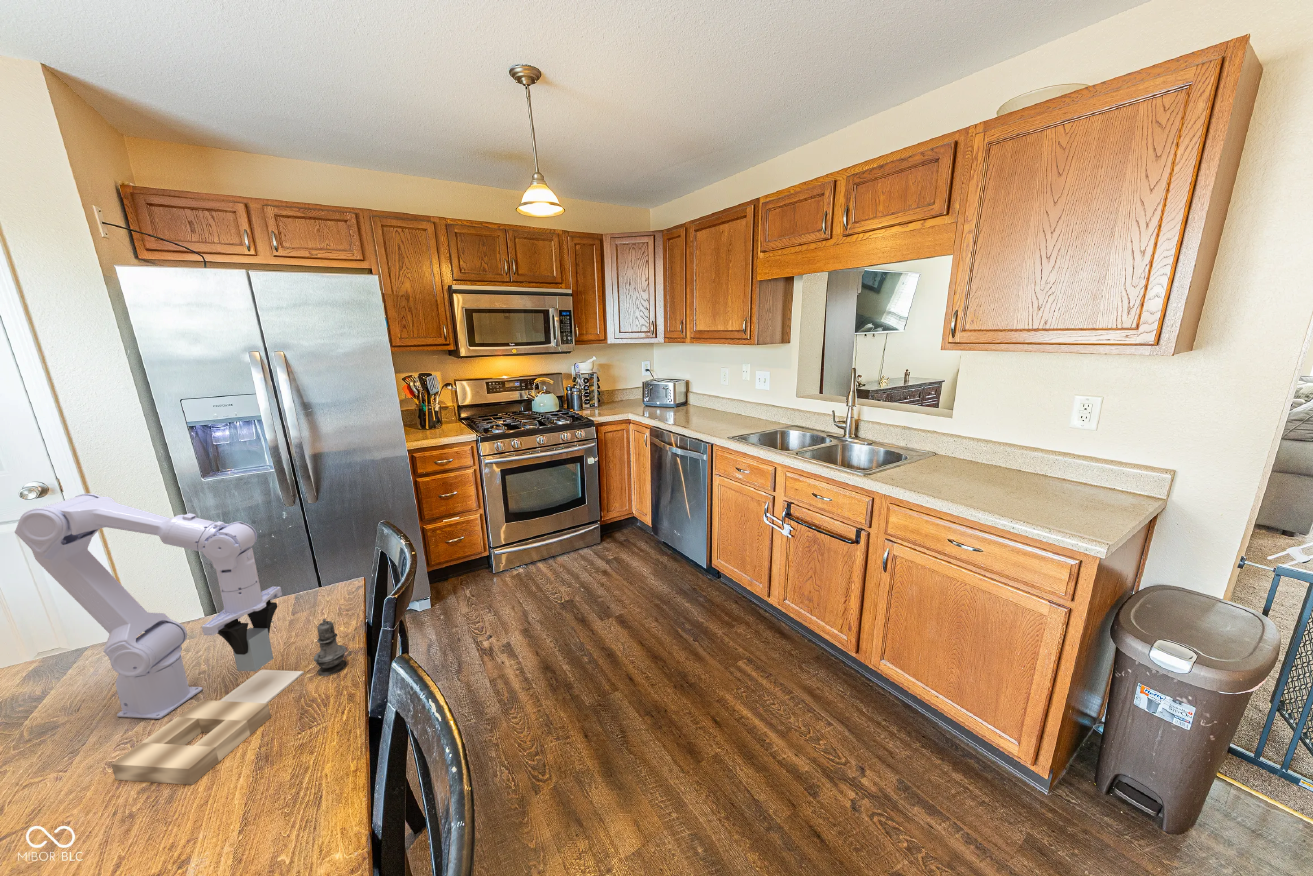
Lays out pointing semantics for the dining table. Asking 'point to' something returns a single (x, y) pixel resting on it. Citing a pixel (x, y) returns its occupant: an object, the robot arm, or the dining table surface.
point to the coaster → (263, 686)
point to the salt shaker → (329, 650)
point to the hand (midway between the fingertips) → (252, 646)
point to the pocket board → (167, 747)
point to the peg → (255, 651)
